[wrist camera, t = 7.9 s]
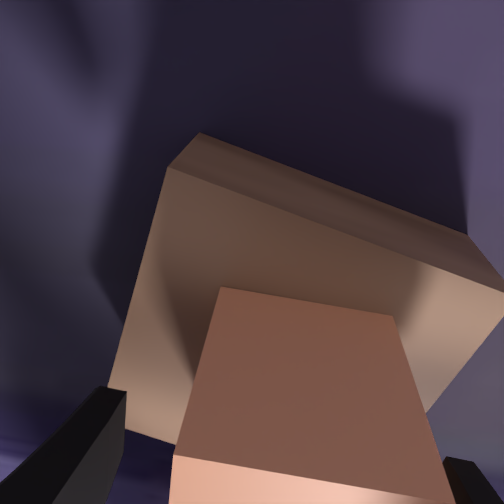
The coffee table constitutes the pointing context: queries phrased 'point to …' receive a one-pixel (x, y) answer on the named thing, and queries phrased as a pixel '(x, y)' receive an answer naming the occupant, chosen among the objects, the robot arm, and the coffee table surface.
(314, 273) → the walnut block
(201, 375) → the terracotta cube
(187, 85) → the coffee table surface
